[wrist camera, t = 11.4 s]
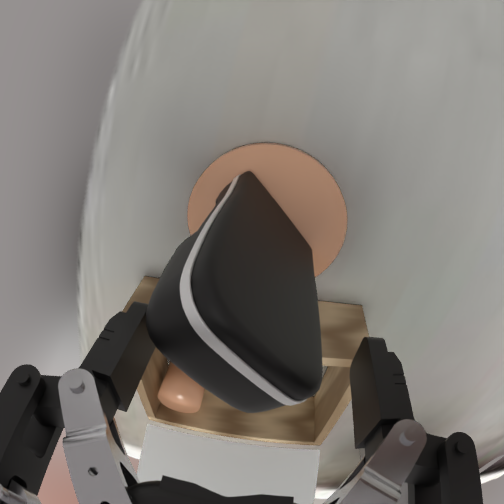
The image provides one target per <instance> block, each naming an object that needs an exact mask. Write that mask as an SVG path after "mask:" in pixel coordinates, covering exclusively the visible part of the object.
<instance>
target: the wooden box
mask: <svg viewBox="0 0 504 504" xmlns="http://www.w3.org/2000/svg"><path fill="white" fill-rule="evenodd" d="M158 281H159V278H153V277H147V276H144V278H143V280H142V281H141V283H140V284H139V286H138V287H137V289H136V290H135V292H134V294H133V295H132V297H131V298H130V300H129V301H128V303H127V305H126V306H125V308H124V310H123V311H122V312H125V313H126V312H127V310H128V309H129V307H130V306H131V304H132V303H133V302H134V301H136V302H141V303H146V304H149V301H150V298H151V295H152V293H153V291H154V289H155V287H156V285H157V283H158ZM318 307H319V317H320V328H321V343H322V365H324V366H328V367H327V370H326V372H325V374H324V377H323V379H322V383H321V386H320V389H319V390H318V392H317V393H316V395H315V397H310V398H307V400H306V401H304V402H302V403H299V404H296V405H292V406H289V405H285V406H282V407H279V408H275V409H272V410H268V411H265V412H258V413H246V412H243V411H240V410H238V409H236V408H234V407H232V406H230V405H229V404H227V403H225V402H224V401H222V400H221V399H219V398H218V397H216V396H215V395H213V394H212V393H210V392H209V391H208V390H206V389H205V391H204V394H203V398H202V402H201V406H200V409H199V411H197V412H195V413H182V412H178V411H175V410H172V409H170V408H168V407H166V406H165V405H163V404H162V403H161V402H160V401H159V399H158V393H159V390H160V387H161V385H162V382H163V379H164V377H165V374H166V371H167V369H168V363H167V358H166V357H165V356H164V355H163V354H162V353H161V352H160V351H159V350H158V349H157V348H155V350H154V352H153V354H152V356H151V358H150V361H149V363H148V365H147V367H146V369H145V372H144V374H143V376H142V378H141V380H140V383H139V385H138V387H137V391H138V393H139V396H140V399H141V401H142V404H143V406H144V409H145V411H146V414H147V416H148V418H149V420H153V421H156V422H160V423H164V424H168V425H172V426H176V427H181V428H185V429H190V430H195V431H199V432H205V433H210V434H215V435H221V436H227V437H234V438H240V439H248V440H256V441H264V442H274V443H286V444H300V445H321V444H322V442H323V441H324V440H325V438H326V437H327V435H328V434H329V432H330V431H331V430H332V428H333V427H334V425H335V424H336V422H337V421H338V419H339V418H340V416H341V415H342V413H343V412H344V410H345V408H346V407H347V405H348V404H349V402H350V401H351V399H352V398H351V387H350V377H349V374H350V366H351V363H352V360H353V358H354V356H355V354H356V352H357V350H358V348H359V346H360V344H361V341H362V339H363V338H364V337H369V334H368V330H367V325H366V321H365V317H364V312H363V308H362V305H352V304H343V303H334V302H325V301H318Z"/></svg>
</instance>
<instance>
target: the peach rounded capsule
mask: <svg viewBox="0 0 504 504" xmlns="http://www.w3.org/2000/svg"><path fill="white" fill-rule="evenodd" d="M204 391H205V388H203V387H202V386H200V385H199V384H198V383H197V382H195V381H194V380H193V379H191V378H190V377H189V376H188V375H186V374H185V373H184V372H183V371H181V370H180V369H179V368H178V367H176V366H175V365H174V364H173V363H172V362H170V363H169V366H168V369H167V371H166V374H165V377H164V379H163V382H162V385H161V387H160V390H159V393H158V399H159V401H160V402H161V403H162V404H163V405H165V406H166V407H168V408H170V409H172V410H175V411H178V412H182V413H195V412H197V411H199V409H200V406H201V402H202V398H203V394H204Z"/></svg>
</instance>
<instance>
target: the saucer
mask: <svg viewBox="0 0 504 504" xmlns="http://www.w3.org/2000/svg"><path fill="white" fill-rule="evenodd" d="M246 171H251V172H252V173H253V174H254V175H255V176H256V177H257V179H258V180H259V181H260V182H261V183H262V185H263V186H264V187H265V188H266V190H267V191H268V192H269V193H270V195H271V196H272V197H273V198H274V200H275V201H276V202H277V203H278V205H279V206H280V207H281V208H282V210H283V211H284V212H285V214H286V215H287V216H288V218H289V219H290V220H291V221H292V223H293V224H294V225H295V227H296V228H297V229H298V231H299V232H300V233H301V235H302V236H303V237H304V239H305V240H306V241H307V243H308V244H309V245H310V247H311V249H312V253H313V265H314V275H315V277H316V276H318V275H319V274H321V273H322V272H323V271H324V270H325V269H326V268H328V266H329V265H330V264H331V263H332V262H333V261H334V259H335V258H336V256H337V255H338V253H339V251H340V249H341V247H342V245H343V242H344V239H345V235H346V230H347V211H346V206H345V202H344V198H343V196H342V193H341V191H340V189H339V187H338V184H337V183H336V181H335V179H334V178H333V176H332V175H331V174H330V172H329V171H328V170H327V169H326V168H325V167H324V166H323V165H322V164H321V163H320V162H319V161H318V160H316V159H315V158H313V157H312V156H310V155H309V154H307V153H305V152H303V151H301V150H299V149H297V148H294V147H291V146H288V145H283V144H278V143H253V144H249V145H244V146H241V147H238V148H235V149H233V150H231V151H229V152H227V153H225V154H223V155H222V156H220V157H219V158H218V159H216V160H215V161H214V162H213V163H212V164H211V165H210V166H209V167H208V168H207V169H206V170H205V171H204V172H203V174H202V175H201V176H200V178H199V179H198V180H197V182H196V184H195V186H194V188H193V190H192V193H191V196H190V199H189V204H188V215H187V217H188V227H189V231H190V235H192V234H194V233H195V232H196V231H198V229H199V228H200V226H201V225H202V223H203V222H204V220H205V219H206V218H207V216H208V215H209V213H210V212H211V211H212V210H213V208H214V207H215V205H216V199H217V197H218V196H219V194H220V192H221V191H222V190H223V189H224V188H225V186H227V185H228V184H229V183H231V182H232V181H233V179H234V178H235V177H236V176H238V175H239V174H240V175H242V174H243V173H244V172H246Z"/></svg>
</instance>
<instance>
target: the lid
mask: <svg viewBox="0 0 504 504" xmlns="http://www.w3.org/2000/svg"><path fill="white" fill-rule="evenodd" d="M319 457H320V450H314V449H294V448H281V447H270V446H260V445H252V444H244V443H237V442H231V441H224V440H218V439H213V438H207V437H202V436H197V435H192V434H188V433H183V432H179V431H175V430H170V429H166V428H162V427H159V426H155V425H151V424H147V428H146V433H145V437H144V442H143V447H142V451H141V456H140V461H139V466H138V471H137V477H138V479H139V481H140V483H141V482H146V481H156V480H158V481H161V479H162V476H163V475H164V476H168V477H172V478H175V479H179V480H183V481H188V482H192V483H195V484H197V485H199V486H202V487H204V488H206V489H208V490H211V491H213V492H215V493H218V494H220V495H222V496H226V497H235V496H248V495H258V494H265V495H276V496H290V497H294V503H297V504H313V503H314V497H315V490H316V482H317V475H318V466H319Z"/></svg>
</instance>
